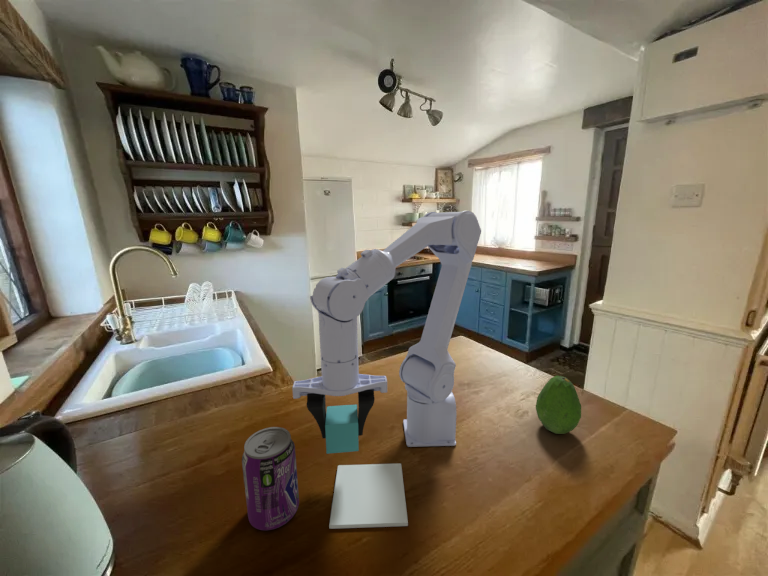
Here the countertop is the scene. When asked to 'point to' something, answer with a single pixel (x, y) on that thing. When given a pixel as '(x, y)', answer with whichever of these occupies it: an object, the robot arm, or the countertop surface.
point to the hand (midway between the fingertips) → (342, 432)
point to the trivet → (368, 497)
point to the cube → (341, 429)
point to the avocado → (558, 406)
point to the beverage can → (270, 478)
